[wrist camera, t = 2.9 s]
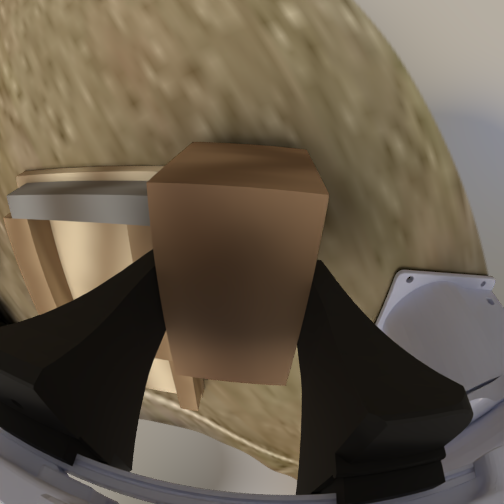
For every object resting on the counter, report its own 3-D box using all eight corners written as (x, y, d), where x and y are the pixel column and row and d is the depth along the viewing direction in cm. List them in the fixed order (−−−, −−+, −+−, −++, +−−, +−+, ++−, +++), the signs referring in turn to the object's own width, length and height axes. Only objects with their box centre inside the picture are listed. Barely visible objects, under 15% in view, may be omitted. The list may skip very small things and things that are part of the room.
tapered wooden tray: (190, 166, 15) (173, 186, 12) (204, 388, 25) (199, 415, 23) (25, 171, 15) (-5, 188, 12) (90, 365, 26) (80, 388, 23)
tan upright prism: (306, 149, 11) (329, 195, 7) (283, 304, 15) (285, 385, 11) (192, 142, 11) (146, 182, 7) (197, 297, 16) (175, 374, 11)
